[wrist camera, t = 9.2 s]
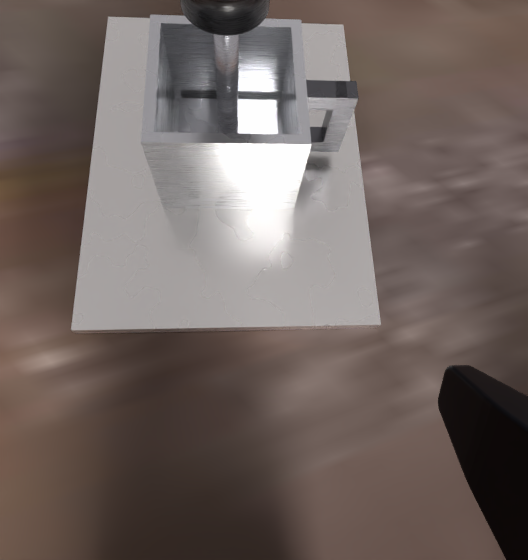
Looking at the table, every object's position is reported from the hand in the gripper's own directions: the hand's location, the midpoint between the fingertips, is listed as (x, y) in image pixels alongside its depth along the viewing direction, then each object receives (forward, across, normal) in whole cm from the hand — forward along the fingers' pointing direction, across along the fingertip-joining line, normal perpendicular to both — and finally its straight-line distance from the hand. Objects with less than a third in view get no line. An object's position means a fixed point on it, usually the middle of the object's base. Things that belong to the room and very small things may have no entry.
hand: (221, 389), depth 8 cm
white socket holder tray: (+18, 0, -1) cm, 19 cm away
